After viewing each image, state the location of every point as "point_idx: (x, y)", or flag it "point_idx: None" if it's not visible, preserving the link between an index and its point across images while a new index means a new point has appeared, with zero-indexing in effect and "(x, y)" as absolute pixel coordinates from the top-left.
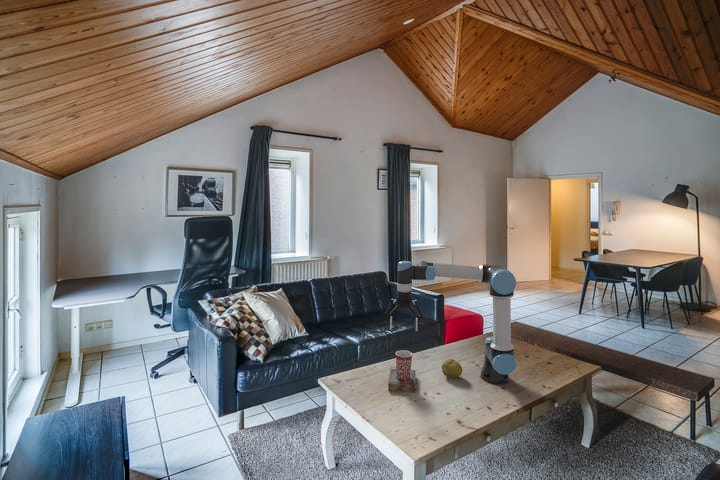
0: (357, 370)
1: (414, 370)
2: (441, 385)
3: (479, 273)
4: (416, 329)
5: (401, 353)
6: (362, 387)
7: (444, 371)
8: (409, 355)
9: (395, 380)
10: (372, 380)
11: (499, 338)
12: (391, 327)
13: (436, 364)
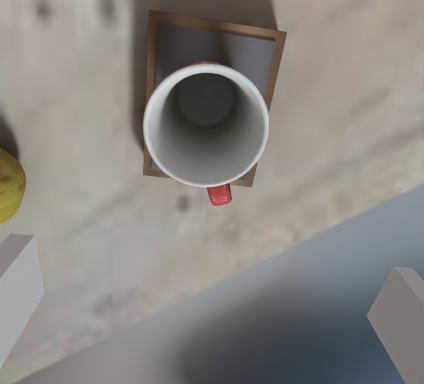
0: (368, 205)
1: (148, 172)
2: (34, 91)
3: None
4: (8, 252)
5: (218, 169)
6: (386, 62)
7: (6, 158)
8: (165, 148)
9: (247, 61)
10: (328, 127)
11: None
12: (410, 296)
13: (65, 259)
